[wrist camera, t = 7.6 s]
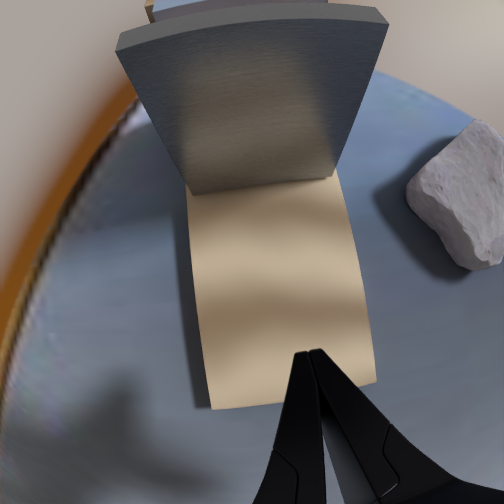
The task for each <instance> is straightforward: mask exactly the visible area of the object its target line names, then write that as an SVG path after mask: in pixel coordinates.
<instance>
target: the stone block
mask: <svg viewBox="0 0 504 504" xmlns="http://www.w3.org/2000/svg"><path fill="white" fill-rule="evenodd" d="M406 199H407V203H408V204H409V206H410V208H411V209H412V210H413V211H414V212H415V214H417V215H418V216H419V218H420V219H421V220H423V221H424V222H425V223H426V224H427V225H428V226H429V227H430V228H431V229H433V230H435V232H436V233H437V234H438V235H439V237H440V238H441V240H442V242H443V244H444V246H445V248H446V250H447V252H448V253H449V255H450V256H451V257H452V259H453V261H454V262H455V263H456V264H457V265H458V266H462V267H464V268H467V269H469V270H473V271H479V270H483V269H488V268H490V267H493V266H496V265H498V264H499V263H500V262H501V260H502V258H503V255H504V140H503V139H502V138H501V137H500V135H499V134H498V133H497V132H496V131H495V130H494V129H493V128H492V127H491V126H489V125H487V124H486V123H483V122H482V121H481V120H477V119H474V120H473V121H472V122H471V123H470V124H469V125H468V126H467V127H466V128H465V129H463V130H462V131H461V132H460V133H459V134H458V135H457V136H456V137H455V138H454V139H453V140H452V141H451V142H450V143H449V144H448V145H447V146H446V147H445V148H444V149H443V150H442V151H440V152H439V153H438V154H437V155H436V156H435V157H433V158H432V159H431V160H430V161H428V162H427V163H426V164H425V165H424V166H423V167H422V168H421V169H420V170H419V172H418V173H416V174H415V176H413V177H412V178H411V179H410V181H409V183H408V184H407V185H406Z"/></svg>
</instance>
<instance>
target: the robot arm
mask: <svg viewBox="0 0 504 504" xmlns="http://www.w3.org/2000/svg"><path fill="white" fill-rule="evenodd" d="M322 433H323V435H322ZM323 436H324V439H325V443H326V446H327V449H328V452H329V455H330V458H331V461H332V465H333V468H334V471H335V474H336V477H337V480H338V484H339V487H340V490H341V493H342V496H343V499H344V503H345V504H504V491H502V490H497V489H493V488H489V487H484V486H480V485H476V484H473V483H469V482H465V481H463V480H460V479H458V478H456V477H454V476H453V475H451V474H450V473H448V472H447V471H445V470H444V469H443V468H441V467H440V466H439V465H438V464H436V463H435V462H434V461H432V460H431V459H430V458H429V457H427V456H426V455H425V454H423V453H422V452H421V451H420V450H419V449H417V448H416V447H415V446H414V445H413V444H412V443H410V442H409V441H408V440H407V439H406V438H405V437H404V436H403V435H402V434H401V433H400V432H399V431H398V430H397V429H396V428H395V427H394V425H393V424H390V421H389V420H388V419H387V418H386V417H385V416H384V415H383V414H382V413H381V412H380V411H379V410H378V409H377V408H376V406H375V405H374V404H373V403H372V402H371V401H370V400H369V399H368V398H367V397H366V396H365V395H364V394H363V392H362V391H361V390H360V389H359V388H358V387H357V386H356V385H355V384H354V383H353V382H352V381H351V379H350V378H349V377H348V376H347V375H346V374H345V373H344V372H343V371H342V370H341V369H340V368H339V366H338V365H337V364H336V363H335V362H334V361H333V360H332V359H331V358H330V357H329V356H328V355H327V353H326V352H325V351H324V350H323V349H321V348H317V349H311V350H309V351H300V352H296V353H295V354H294V357H293V362H292V367H291V372H290V376H289V381H288V386H287V390H286V395H285V399H284V403H283V408H282V412H281V416H280V421H279V425H278V429H277V433H276V437H275V441H274V445H273V450H272V452H271V456H270V460H269V463H268V466H267V470H266V473H265V476H264V478H263V481H262V483H261V486H260V488H259V490H258V493H257V495H256V497H255V499H254V501H253V503H252V504H326V481H325V464H324V448H323Z"/></svg>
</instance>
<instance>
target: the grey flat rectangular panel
mask: <svg viewBox="0 0 504 504" xmlns="http://www.w3.org/2000/svg"><path fill="white" fill-rule="evenodd" d="M388 27H389V23H388V22H387V21H386V19H385V18H384V17H383V16H382V15H381V14H380V12H379V11H378V10H377V9H376V8H375V7H367V6H359V5H349V4H335V3H271V4H256V5H246V6H237V7H229V8H222V9H215V10H209V11H203V12H198V13H193V14H188V15H183V16H179V17H174V18H170V19H166V20H162V21H158V22H155V23H151V24H148V25H144V26H141V27H138V28H134V29H131V30H128V31H125V32H122V33H121V34H120V36H119V40H118V43H117V47H116V50H115V53H116V54H117V56H118V58H119V60H120V62H121V64H122V66H123V68H124V70H125V72H126V74H127V76H128V77H129V79H130V81H131V83H132V85H133V87H134V89H135V91H136V93H137V95H138V97H139V98H140V100H141V102H142V104H143V106H144V108H145V110H146V112H147V113H148V115H149V117H150V119H151V121H152V123H153V125H154V126H155V128H156V130H157V132H158V134H159V136H160V137H161V139H162V141H163V143H164V145H165V147H166V148H167V150H168V152H169V154H170V156H171V158H172V159H173V161H174V163H175V165H176V167H177V168H178V170H179V172H180V174H181V176H182V177H183V179H184V181H185V183H186V185H187V186H188V188H189V190H190V192H191V193H192V195H193V196H196V195H202V194H208V193H214V192H220V191H226V190H232V189H238V188H245V187H252V186H259V185H266V184H273V183H280V182H288V181H296V180H304V179H313V178H322V177H332V175H333V173H334V170H335V168H336V165H337V163H338V160H339V158H340V156H341V153H342V151H343V148H344V146H345V143H346V141H347V138H348V136H349V133H350V131H351V128H352V126H353V123H354V120H355V118H356V115H357V113H358V110H359V107H360V105H361V102H362V100H363V97H364V94H365V92H366V89H367V86H368V84H369V81H370V78H371V75H372V73H373V70H374V67H375V64H376V62H377V59H378V56H379V53H380V50H381V47H382V44H383V42H384V39H385V36H386V33H387V29H388Z"/></svg>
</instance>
